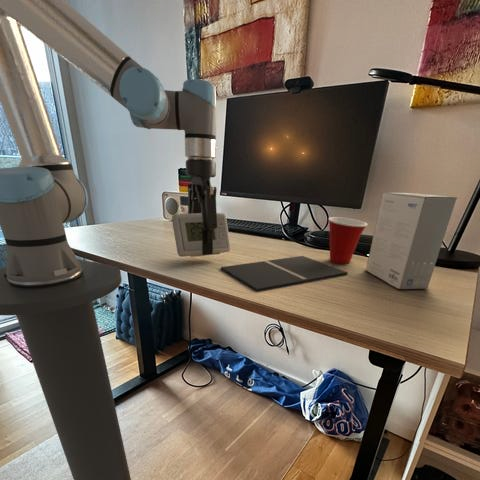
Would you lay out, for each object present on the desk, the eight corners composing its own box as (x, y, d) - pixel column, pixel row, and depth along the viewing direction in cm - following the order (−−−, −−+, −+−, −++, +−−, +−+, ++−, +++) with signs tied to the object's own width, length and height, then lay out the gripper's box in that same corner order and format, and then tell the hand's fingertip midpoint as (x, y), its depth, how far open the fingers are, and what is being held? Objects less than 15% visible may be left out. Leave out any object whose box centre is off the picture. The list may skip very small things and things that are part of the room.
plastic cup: (356, 268, 83) (365, 224, 78) (317, 262, 88) (323, 220, 82) (362, 259, 92) (371, 219, 86) (327, 254, 96) (333, 215, 91)
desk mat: (256, 291, 66) (257, 288, 66) (220, 269, 80) (220, 266, 79) (347, 274, 78) (347, 271, 78) (302, 257, 92) (302, 255, 92)
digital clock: (176, 258, 79) (174, 216, 74) (171, 250, 86) (169, 211, 81) (234, 255, 84) (236, 216, 79) (225, 248, 91) (225, 211, 87)
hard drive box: (428, 289, 69) (459, 197, 60) (398, 290, 68) (425, 196, 59) (389, 269, 83) (409, 191, 74) (364, 270, 82) (381, 191, 73)
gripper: (232, 160, 69) (230, 258, 79) (199, 160, 84) (200, 242, 94) (202, 158, 65) (203, 261, 75) (173, 158, 81) (177, 244, 91)
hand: (202, 250), depth 85 cm, fingers closed on digital clock, 7 cm apart
